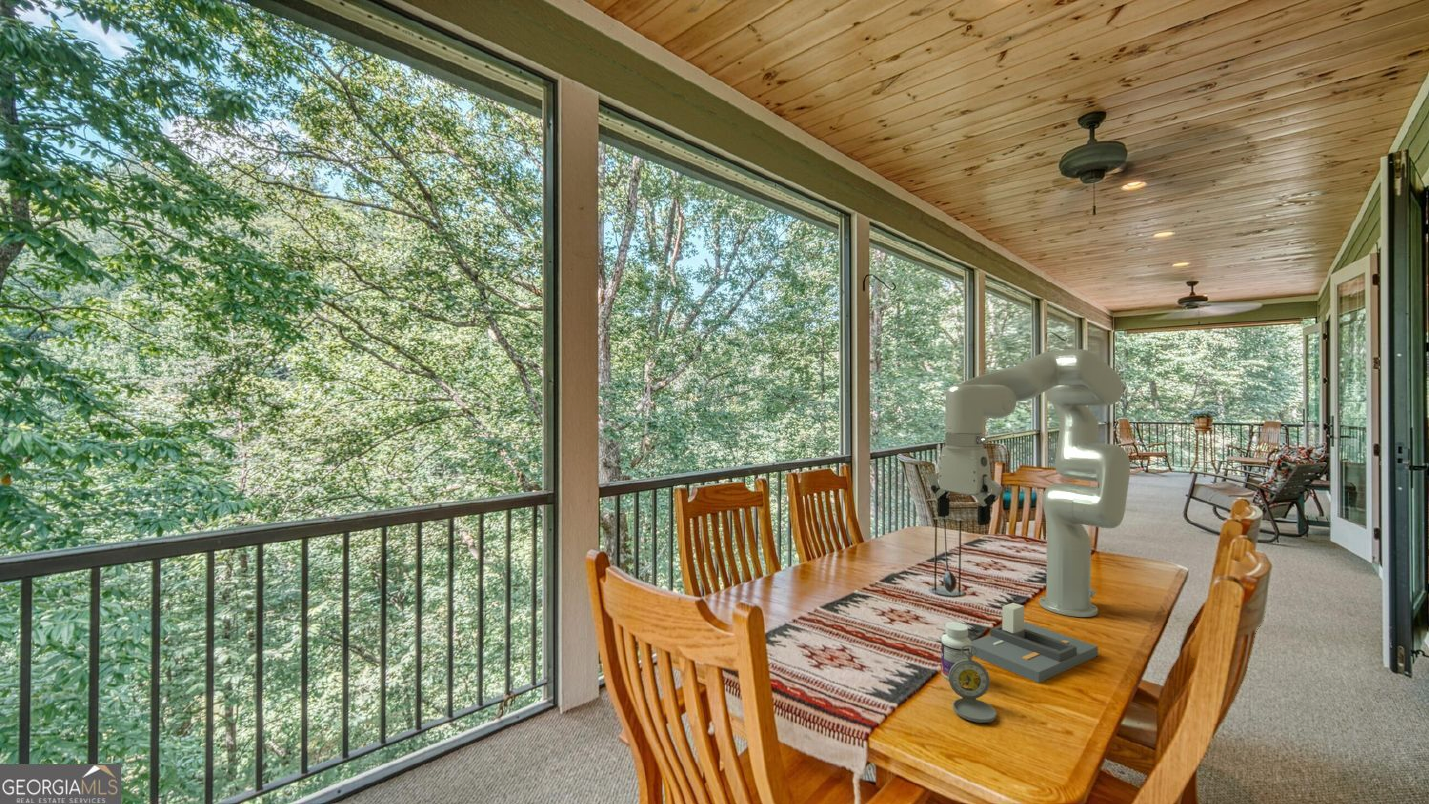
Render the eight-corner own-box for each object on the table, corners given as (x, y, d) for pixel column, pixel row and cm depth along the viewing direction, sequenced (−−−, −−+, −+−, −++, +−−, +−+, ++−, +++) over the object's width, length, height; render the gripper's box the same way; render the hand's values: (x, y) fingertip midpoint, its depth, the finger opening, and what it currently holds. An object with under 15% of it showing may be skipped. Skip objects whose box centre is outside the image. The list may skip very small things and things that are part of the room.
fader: (1011, 632, 125) (1012, 602, 125) (1025, 637, 122) (1025, 606, 122) (1000, 636, 123) (1001, 605, 123) (1014, 641, 120) (1014, 610, 120)
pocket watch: (975, 729, 92) (976, 666, 92) (936, 703, 100) (936, 646, 100) (1012, 718, 95) (1012, 657, 95) (971, 694, 103) (971, 638, 103)
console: (1026, 630, 131) (1026, 615, 131) (1097, 655, 118) (1097, 639, 118) (966, 652, 120) (966, 635, 120) (1038, 683, 107) (1038, 664, 107)
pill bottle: (948, 667, 113) (948, 618, 113) (976, 676, 109) (976, 626, 109) (936, 676, 109) (936, 625, 109) (964, 686, 105) (965, 634, 105)
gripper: (1012, 443, 119) (1011, 525, 119) (940, 438, 134) (939, 511, 134) (990, 444, 115) (989, 529, 115) (919, 439, 130) (918, 514, 130)
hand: (962, 520), depth 125 cm, fingers open, 9 cm apart
